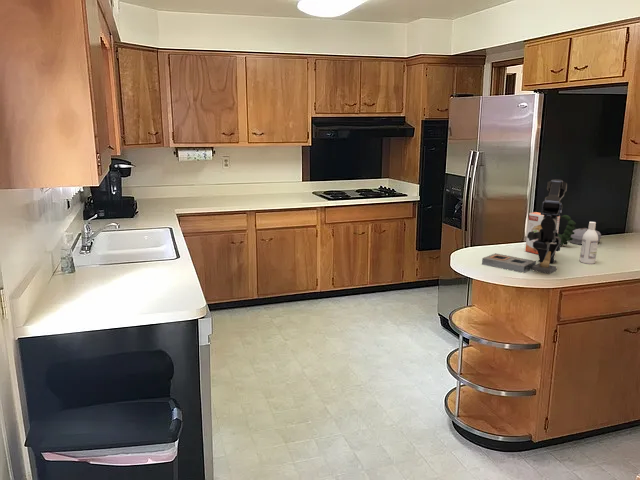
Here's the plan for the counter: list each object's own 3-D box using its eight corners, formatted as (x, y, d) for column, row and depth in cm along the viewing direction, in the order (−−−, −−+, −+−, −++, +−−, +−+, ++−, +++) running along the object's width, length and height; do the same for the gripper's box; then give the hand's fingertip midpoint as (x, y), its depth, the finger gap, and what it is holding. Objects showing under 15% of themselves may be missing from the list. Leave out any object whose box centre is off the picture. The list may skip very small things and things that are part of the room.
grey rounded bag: (577, 238, 313) (563, 242, 300) (578, 224, 311) (564, 228, 298) (603, 242, 302) (590, 247, 289) (606, 228, 300) (592, 232, 287)
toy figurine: (573, 250, 289) (535, 237, 309) (581, 217, 283) (541, 206, 303) (563, 251, 284) (525, 238, 304) (570, 218, 278) (531, 207, 298)
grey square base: (538, 267, 245) (539, 263, 244) (556, 270, 239) (556, 266, 239) (531, 270, 239) (532, 266, 239) (549, 274, 234) (550, 269, 233)
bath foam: (596, 262, 256) (602, 222, 252) (592, 264, 251) (598, 224, 247) (581, 259, 261) (587, 220, 256) (577, 262, 256) (582, 222, 252)
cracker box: (524, 251, 275) (528, 212, 271) (531, 250, 279) (535, 211, 274) (548, 257, 264) (553, 216, 259) (555, 255, 267) (560, 215, 263)
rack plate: (495, 259, 258) (495, 252, 257) (535, 267, 245) (536, 260, 244) (481, 264, 248) (482, 257, 247) (523, 272, 235) (524, 266, 234)
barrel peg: (541, 264, 241) (543, 250, 240) (550, 266, 239) (552, 251, 237) (538, 266, 239) (540, 251, 237) (547, 268, 236) (549, 253, 234)
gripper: (539, 222, 247) (535, 254, 250) (523, 227, 233) (519, 260, 237) (563, 225, 239) (559, 258, 243) (548, 230, 226) (544, 265, 229)
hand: (545, 260), depth 238 cm, fingers open, 9 cm apart
